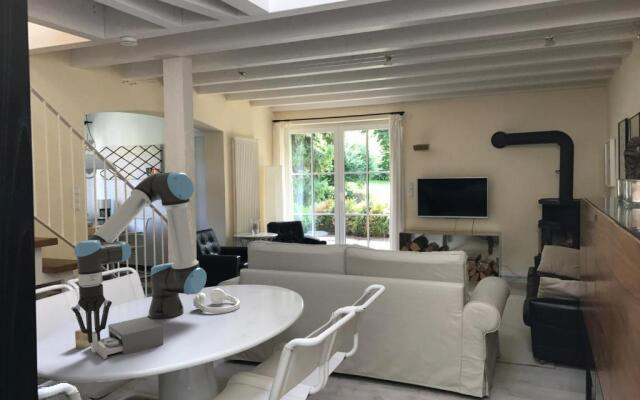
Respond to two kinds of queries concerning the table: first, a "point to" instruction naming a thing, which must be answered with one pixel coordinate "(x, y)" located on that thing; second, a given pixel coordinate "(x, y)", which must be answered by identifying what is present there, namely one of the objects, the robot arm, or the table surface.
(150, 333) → the housing
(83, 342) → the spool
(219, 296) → the headphones
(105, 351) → the tray
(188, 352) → the table surface
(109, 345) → the disc
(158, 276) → the robot arm
